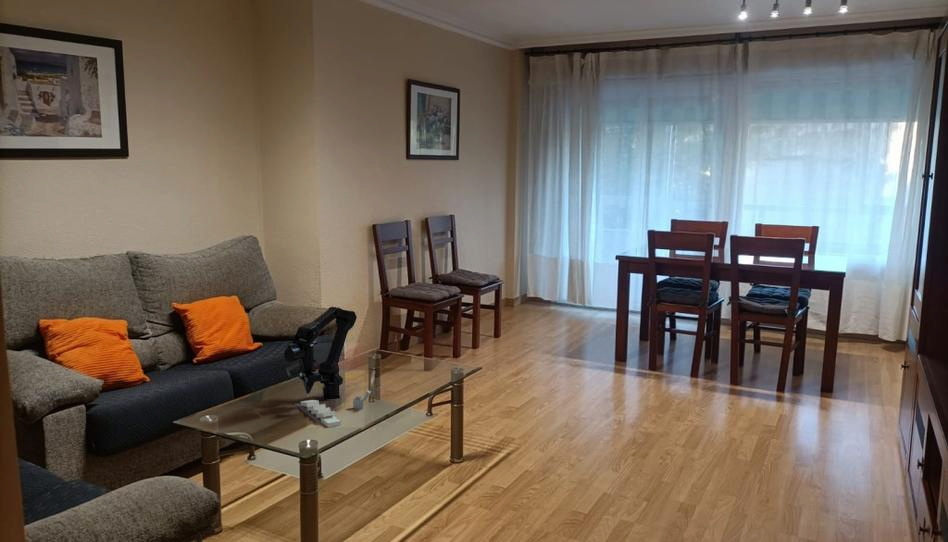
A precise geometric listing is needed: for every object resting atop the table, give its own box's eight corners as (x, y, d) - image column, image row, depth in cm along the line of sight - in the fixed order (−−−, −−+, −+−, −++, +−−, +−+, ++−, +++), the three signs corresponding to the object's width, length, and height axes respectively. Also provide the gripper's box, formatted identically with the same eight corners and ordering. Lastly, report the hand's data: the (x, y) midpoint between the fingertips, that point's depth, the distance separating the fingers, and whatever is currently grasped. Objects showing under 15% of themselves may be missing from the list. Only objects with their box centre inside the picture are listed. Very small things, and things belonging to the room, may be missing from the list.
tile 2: (311, 410, 282) (317, 409, 275) (323, 408, 284) (330, 407, 278) (311, 414, 281) (318, 413, 275) (323, 412, 284) (330, 411, 278)
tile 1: (306, 406, 286) (313, 405, 279) (318, 404, 289) (325, 403, 282) (307, 410, 286) (313, 409, 279) (319, 408, 288) (325, 407, 282)
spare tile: (300, 401, 292) (306, 402, 286) (312, 399, 295) (318, 400, 288) (300, 405, 292) (307, 406, 286) (312, 403, 295) (319, 404, 288)
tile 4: (320, 417, 273) (328, 423, 266) (332, 415, 276) (340, 421, 269) (320, 421, 273) (328, 427, 266) (332, 419, 276) (340, 425, 269)
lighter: (353, 409, 289) (353, 390, 288) (354, 408, 291) (354, 389, 290) (370, 410, 288) (369, 391, 287) (371, 409, 290) (371, 390, 289)
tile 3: (315, 413, 277) (322, 412, 271) (328, 411, 280) (335, 410, 273) (316, 418, 277) (323, 416, 270) (328, 415, 280) (335, 414, 273)
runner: (294, 404, 295) (294, 403, 295) (312, 401, 299) (312, 400, 299) (319, 425, 270) (319, 424, 270) (339, 421, 274) (339, 420, 274)
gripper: (280, 354, 293) (281, 390, 295) (295, 364, 278) (296, 402, 280) (306, 351, 299) (307, 387, 301) (322, 360, 284) (323, 398, 285)
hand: (307, 393), depth 292 cm, fingers closed
